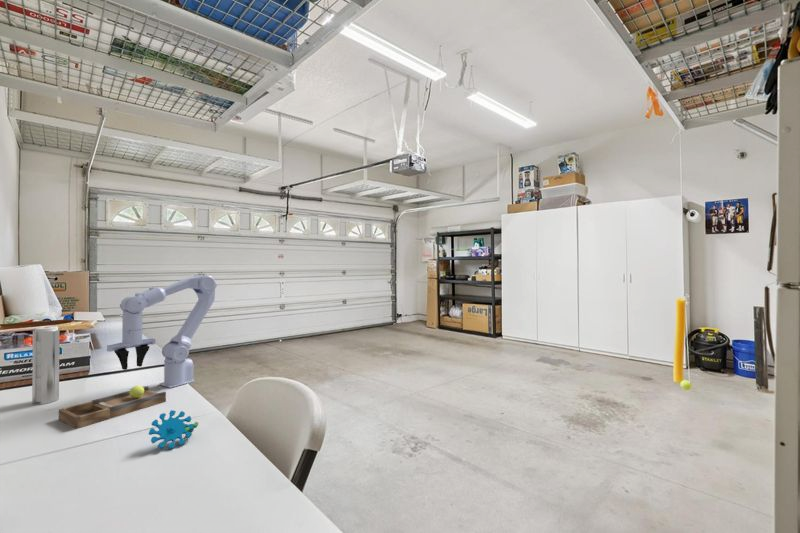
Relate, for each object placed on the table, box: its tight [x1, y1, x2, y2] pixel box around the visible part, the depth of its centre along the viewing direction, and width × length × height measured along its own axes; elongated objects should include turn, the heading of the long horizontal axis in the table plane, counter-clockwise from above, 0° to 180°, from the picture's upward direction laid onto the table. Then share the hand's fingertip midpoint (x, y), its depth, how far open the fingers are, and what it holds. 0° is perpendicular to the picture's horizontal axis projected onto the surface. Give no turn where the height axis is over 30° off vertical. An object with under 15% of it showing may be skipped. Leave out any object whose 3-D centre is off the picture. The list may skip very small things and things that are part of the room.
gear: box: [148, 409, 199, 450], centre depth 95 cm, size 11×6×10 cm
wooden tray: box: [58, 385, 167, 430], centre depth 115 cm, size 24×12×3 cm, turn 151°
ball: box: [129, 385, 144, 398], centre depth 121 cm, size 4×4×4 cm
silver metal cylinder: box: [31, 325, 61, 406], centre depth 122 cm, size 6×6×25 cm
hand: (132, 367), depth 130 cm, fingers open, 4 cm apart
